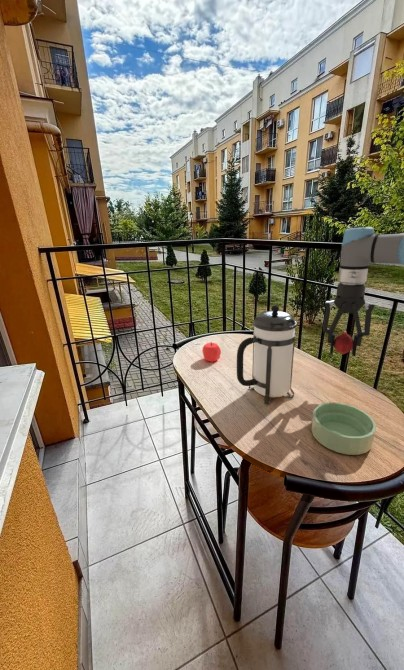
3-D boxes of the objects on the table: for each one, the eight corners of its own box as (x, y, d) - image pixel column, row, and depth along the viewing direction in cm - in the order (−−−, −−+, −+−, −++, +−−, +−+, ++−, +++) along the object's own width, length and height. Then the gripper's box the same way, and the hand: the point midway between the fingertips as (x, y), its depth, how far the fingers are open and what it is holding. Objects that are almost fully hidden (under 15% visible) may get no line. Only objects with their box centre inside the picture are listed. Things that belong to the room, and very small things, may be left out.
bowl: (367, 425, 76) (371, 408, 74) (376, 463, 64) (380, 444, 62) (312, 414, 82) (314, 398, 80) (310, 448, 69) (312, 430, 67)
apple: (198, 358, 120) (197, 341, 117) (213, 354, 124) (213, 337, 121) (209, 365, 114) (208, 347, 111) (224, 360, 118) (224, 342, 115)
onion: (354, 358, 89) (358, 334, 86) (335, 357, 90) (338, 334, 87) (348, 350, 94) (351, 328, 91) (330, 350, 95) (333, 328, 92)
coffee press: (253, 377, 103) (255, 297, 93) (298, 386, 96) (306, 301, 86) (235, 401, 89) (235, 311, 79) (286, 415, 82) (294, 316, 71)
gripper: (317, 284, 84) (311, 354, 92) (391, 285, 77) (377, 361, 85) (318, 280, 91) (312, 346, 98) (386, 281, 84) (373, 352, 91)
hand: (342, 353), depth 92 cm, fingers closed on onion, 6 cm apart
